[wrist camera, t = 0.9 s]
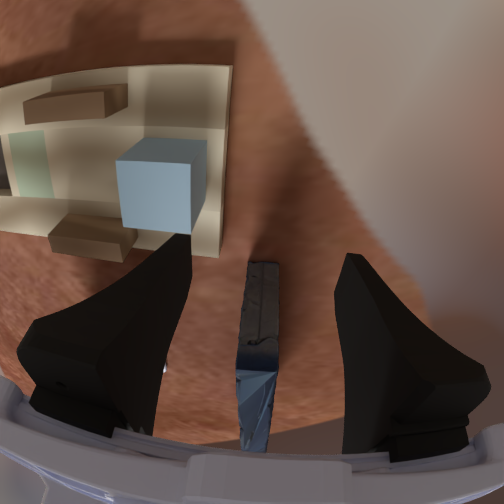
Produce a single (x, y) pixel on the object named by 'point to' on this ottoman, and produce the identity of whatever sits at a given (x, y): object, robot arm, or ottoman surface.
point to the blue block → (162, 184)
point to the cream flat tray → (106, 152)
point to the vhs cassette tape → (258, 355)
